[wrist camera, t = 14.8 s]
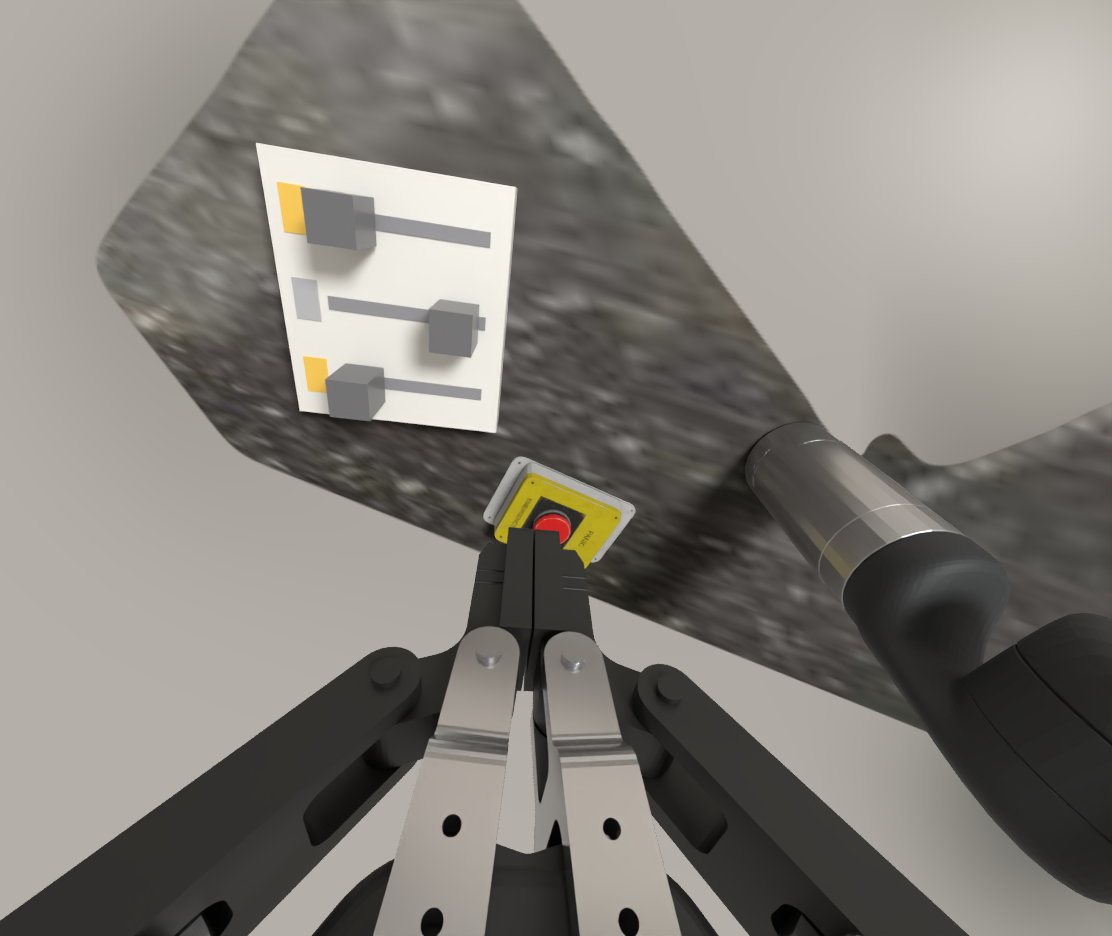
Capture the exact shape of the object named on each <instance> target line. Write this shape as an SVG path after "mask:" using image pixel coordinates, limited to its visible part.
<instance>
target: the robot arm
mask: <svg viewBox="0 0 1112 936" xmlns="http://www.w3.org/2000/svg"><path fill="white" fill-rule="evenodd" d="M745 477H746V481H747V483H748V485H749V487H750V488H751V489H752V491H753V492H754V493H755V495H756V496H757V497H758V498H759V500H760V501H761V502H762V504H763V505H764V506H765V508H766V509H767V510H768V512H769V513H770V514H771V516H772V517H773V518H774V519H775V521H776V522H777V523H778V525H779V526H780V527H781V528H782V530H783V531H784V532H785V534H786V535H787V536H788V537H789V539H790V540H791V541H792V543H793V544H794V545H795V546H796V548H797V549H798V550H799V552H800V553H801V554H802V555H803V557H804V558H805V559H806V561H807V562H808V563H809V565H810V566H811V567H812V568H813V570H814V571H815V572H816V574H817V575H818V576H819V577H820V579H821V580H822V581H823V583H824V584H825V585H826V586H827V587H828V589H829V590H830V591H831V593H832V594H833V595H834V597H835V598H836V599H837V600H838V602H839V603H840V604H841V606H842V607H843V608H844V609H845V611H846V612H847V614H848V615H849V616H850V617H851V619H852V620H853V621H854V623H855V624H856V625H857V627H858V630H859V632H860V634H861V636H862V638H863V640H864V641H865V643H866V645H867V646H868V648H869V649H870V650H871V652H872V653H873V655H874V656H875V657H876V659H877V660H878V661H879V663H880V664H881V665H882V667H883V668H884V670H885V671H886V672H887V674H888V675H889V677H890V678H891V679H892V681H893V682H894V684H895V685H896V687H897V688H898V689H899V691H900V692H901V694H902V695H903V697H904V698H905V700H906V701H907V703H908V704H909V706H910V707H911V709H912V710H913V712H914V713H915V714H916V716H917V717H918V719H919V720H920V722H921V723H922V725H923V726H924V728H925V729H926V731H927V732H928V734H929V735H930V737H931V738H932V739H933V741H934V743H935V744H936V746H937V747H938V748H939V750H940V751H941V753H942V754H943V756H944V757H945V758H946V760H947V761H948V762H949V764H950V765H951V767H952V768H953V770H954V771H955V772H956V774H957V775H958V777H959V778H960V779H961V781H962V782H963V783H964V785H965V786H966V787H967V788H968V790H969V791H970V792H971V793H972V795H973V796H974V797H975V798H976V800H977V801H978V802H979V803H980V805H982V807H983V808H984V810H985V811H986V812H987V813H988V815H989V816H990V817H991V818H992V819H993V820H994V822H995V823H996V824H997V825H998V826H999V827H1000V828H1001V829H1002V830H1003V831H1004V832H1005V833H1006V834H1007V835H1008V836H1009V837H1010V838H1011V839H1012V840H1013V841H1014V842H1015V843H1016V844H1017V845H1018V846H1019V848H1020V849H1021V850H1022V851H1023V852H1024V853H1026V854H1027V855H1028V856H1029V857H1030V858H1031V859H1032V860H1034V861H1035V862H1036V863H1037V864H1038V865H1039V866H1041V867H1042V868H1043V869H1044V870H1045V871H1047V872H1048V873H1049V874H1050V875H1052V876H1053V877H1054V878H1055V879H1057V880H1058V881H1060V882H1061V883H1062V884H1064V885H1066V886H1067V887H1069V888H1070V889H1072V890H1074V891H1075V892H1077V893H1079V894H1081V895H1082V896H1084V897H1087V898H1089V899H1092V900H1095V901H1097V902H1100V903H1106V904H1111V905H1112V619H1109V618H1106V617H1103V616H1099V615H1095V614H1087V613H1080V614H1071V615H1067V616H1065V617H1062V618H1060V619H1057V620H1055V621H1053V622H1051V623H1049V624H1047V625H1045V626H1043V627H1042V628H1040V629H1038V630H1037V631H1035V632H1033V633H1031V634H1030V635H1028V636H1026V637H1025V638H1023V639H1021V640H1020V641H1018V642H1017V644H1014V645H1012V646H1011V647H1009V648H1008V649H1006V650H1005V651H1003V652H1001V653H1000V654H998V655H997V656H995V657H994V658H992V659H990V660H989V661H987V662H986V663H984V664H983V660H984V653H985V649H986V645H987V642H988V639H989V637H990V635H991V633H992V631H993V629H994V627H995V625H996V623H997V622H998V620H999V618H1000V616H1001V615H1002V613H1003V611H1004V609H1005V607H1006V605H1007V602H1008V599H1009V594H1010V581H1009V578H1008V575H1007V573H1006V571H1005V569H1004V568H1003V567H1002V565H1001V564H1000V563H999V562H998V561H997V560H996V559H995V558H994V557H993V556H992V555H991V554H989V553H988V552H987V551H985V550H984V549H983V548H981V547H980V546H979V545H977V544H976V543H975V542H973V541H972V540H971V539H969V538H968V537H967V536H965V535H964V534H963V533H961V532H960V531H959V530H957V529H956V528H955V527H953V526H952V525H951V524H949V523H948V522H947V521H945V520H944V519H943V518H941V517H940V516H939V515H937V514H936V513H935V512H933V511H932V510H931V509H929V508H928V507H927V506H925V505H924V504H923V503H921V502H920V501H919V500H917V499H916V498H915V497H913V496H912V495H911V494H909V493H908V492H907V491H906V489H905V488H903V487H902V486H901V485H899V484H898V483H897V482H895V481H894V480H893V479H891V478H890V477H889V476H887V475H886V474H885V473H883V472H882V471H881V470H879V469H878V468H877V467H875V466H874V465H873V464H871V463H870V462H869V461H867V460H866V459H865V458H863V457H862V456H861V455H859V454H858V453H856V452H855V451H854V450H853V449H851V448H850V447H848V446H847V445H846V444H844V443H843V442H842V441H839V440H838V439H837V438H835V437H834V436H833V435H831V434H830V433H828V432H827V431H826V430H824V429H823V428H822V427H820V426H818V425H815V424H812V423H805V422H801V423H792V424H788V425H784V426H782V427H779V428H777V429H775V430H773V431H772V432H770V433H768V434H767V435H765V436H764V437H763V438H762V439H761V440H760V441H759V442H758V443H757V444H756V445H755V446H754V448H753V449H752V450H751V452H750V454H749V456H748V458H747V461H746V465H745ZM523 676H524V691H533V711H532V716H531V723H530V724H531V725H530V727H531V743H532V759H533V776H534V777H533V778H534V794H535V829H534V853H532V854H524V853H520V852H518V851H515V850H512V849H509V848H507V847H504V846H501V845H498V844H496V840H497V832H498V825H499V816H500V809H501V801H502V793H503V784H504V777H505V769H506V761H507V753H508V741H509V733H510V725H511V719H512V716H513V711H514V705H515V699H516V692H517V691H521V688H522V682H523ZM420 759H423V761H422V764H421V768H420V771H419V775H418V778H417V782H416V785H415V789H414V793H413V796H412V800H411V803H410V807H409V810H408V814H407V817H406V821H405V825H404V828H403V831H402V835H401V839H400V842H399V846H398V849H397V853H396V856H395V859H393V860H391V861H389V862H387V863H386V864H384V865H382V866H381V867H379V868H378V869H376V870H374V871H373V872H372V873H371V874H369V875H368V876H367V877H366V878H365V879H363V880H362V881H361V882H359V883H358V884H357V885H356V886H355V887H354V888H353V889H352V890H351V891H350V892H349V893H348V894H347V895H346V896H345V897H344V898H343V899H342V900H341V902H340V903H339V904H338V905H337V906H336V907H335V908H334V910H333V911H332V912H331V913H330V914H329V916H328V917H327V918H326V919H325V920H324V922H323V923H322V924H321V925H320V926H319V928H318V929H317V930H316V931H315V932H314V933H313V935H312V936H718V934H717V933H716V932H715V930H714V929H713V928H712V926H711V925H710V923H709V922H708V921H707V919H706V918H705V917H704V915H703V914H702V912H701V911H700V910H699V908H698V907H697V906H696V904H695V903H694V902H693V901H692V899H691V898H690V897H689V896H688V895H687V893H686V892H685V891H684V890H683V889H682V888H681V887H680V886H679V885H678V884H677V883H676V882H675V881H674V880H673V879H672V878H671V877H670V876H669V875H667V874H666V872H665V868H664V864H663V860H662V856H661V852H660V848H659V844H658V840H657V836H656V832H655V828H654V824H653V820H652V816H653V817H654V818H655V819H656V821H657V822H658V823H659V824H660V826H661V827H662V828H663V829H664V831H665V832H666V833H667V834H668V835H669V837H670V838H671V839H672V840H673V842H674V843H675V844H676V845H677V847H678V848H679V849H680V850H681V852H682V853H683V854H684V855H685V857H686V858H687V859H688V860H689V861H690V863H691V864H692V865H693V866H694V868H695V869H696V870H697V871H698V873H699V874H700V875H701V876H702V878H703V879H704V880H705V881H706V882H707V884H708V885H709V886H710V887H711V889H712V890H713V891H714V892H715V893H716V895H717V896H718V897H719V898H720V900H721V901H722V902H723V903H724V905H725V906H726V907H727V908H728V910H729V911H730V912H731V913H732V915H733V916H734V917H735V918H736V919H737V921H738V922H739V923H740V924H741V925H742V927H743V928H744V929H745V931H746V932H747V933H748V934H749V935H750V936H969V935H968V934H967V933H966V932H965V931H963V930H962V929H961V928H960V927H959V926H958V925H957V924H956V923H955V922H954V921H952V919H950V918H949V917H948V916H947V915H946V914H945V913H944V912H943V911H942V910H941V909H940V908H938V907H937V906H936V905H935V904H934V903H933V902H932V901H931V900H930V899H929V898H927V896H925V895H924V894H923V893H922V892H921V891H920V890H919V889H918V888H917V887H916V886H914V885H913V884H912V883H911V882H910V881H909V880H908V879H907V878H906V877H905V876H904V875H903V874H901V873H900V872H899V871H898V870H897V869H896V868H895V867H894V866H893V865H892V864H891V863H889V862H888V861H887V860H886V859H885V858H884V857H883V856H882V855H881V854H880V853H879V852H878V851H876V850H875V849H874V848H873V847H872V846H871V845H870V844H869V843H868V842H867V841H866V840H864V839H863V838H862V837H861V836H860V835H859V834H858V833H857V832H856V831H855V830H853V828H851V827H850V826H849V825H848V824H847V823H846V822H845V821H844V820H843V819H842V818H841V817H840V816H838V815H837V814H836V813H835V812H834V811H833V810H832V809H831V808H830V807H828V806H827V805H826V804H825V803H824V802H823V801H822V800H821V799H820V798H819V797H818V796H817V795H816V794H815V793H813V792H812V791H811V790H810V789H809V788H808V787H807V786H806V785H805V784H804V783H803V782H801V781H800V780H799V779H798V778H797V777H796V776H795V775H794V774H793V773H792V772H790V770H788V769H787V768H786V767H785V766H784V765H783V764H782V763H781V762H780V761H779V760H778V759H776V758H775V757H774V756H773V755H772V754H771V753H770V752H769V751H768V750H767V749H766V748H765V747H763V746H762V745H761V744H760V743H759V742H758V741H757V740H756V739H755V738H754V737H752V736H751V735H750V734H749V733H748V732H747V731H746V730H745V729H744V728H743V727H742V726H740V725H739V724H738V723H737V722H736V721H735V720H734V719H733V718H732V717H731V716H730V715H729V714H728V713H726V712H725V711H724V710H723V709H722V708H721V707H720V706H719V705H718V704H717V703H716V702H714V701H713V700H712V699H711V698H710V697H709V696H708V695H707V694H706V693H705V692H704V691H703V690H701V689H700V688H699V687H698V686H697V685H696V684H695V683H694V682H693V681H692V680H690V679H689V678H688V677H687V676H686V675H685V674H684V673H682V672H681V671H679V670H678V669H676V668H674V667H671V666H668V665H664V664H655V665H651V666H648V667H647V668H645V669H644V670H643V671H642V672H638V671H635V670H632V669H630V668H627V667H624V666H622V665H619V664H617V663H615V662H613V661H612V660H610V659H609V658H608V657H606V656H605V655H604V654H603V653H602V652H601V650H600V649H599V647H598V646H597V644H596V642H595V639H594V635H593V629H592V621H591V613H590V606H589V598H588V592H587V583H586V575H585V568H584V562H583V561H582V559H581V558H580V556H579V555H578V553H577V552H576V550H568V549H561V548H560V534H559V531H551V530H539V529H535V530H534V535H533V529H527V528H516V527H509V528H508V537H507V544H497V543H488V544H487V546H486V547H485V548H484V549H483V551H482V552H481V553H480V554H479V560H478V566H477V572H476V578H475V584H474V589H473V595H472V600H471V607H470V612H469V618H468V624H467V628H466V631H465V634H464V636H463V637H462V638H461V640H460V641H459V642H458V643H457V644H456V645H455V646H453V647H452V648H450V649H449V650H447V651H445V652H443V653H439V654H436V655H432V656H428V657H424V658H419V659H418V658H417V657H416V656H415V655H414V654H413V653H412V652H411V651H409V650H406V649H404V648H399V647H387V648H382V649H379V650H376V651H374V652H372V653H370V654H369V655H367V656H366V657H364V658H363V659H361V660H360V661H359V662H357V663H356V664H355V665H353V666H352V667H350V668H349V669H348V670H346V671H345V672H344V673H342V674H341V675H339V676H338V677H336V678H335V679H334V680H333V681H331V682H330V683H328V684H327V685H325V686H324V687H323V688H321V689H320V690H319V691H317V692H316V693H314V694H313V695H312V696H310V697H309V698H307V699H306V700H305V701H303V702H302V703H301V704H299V705H298V706H296V707H295V708H294V709H292V710H291V711H289V712H288V713H287V714H285V715H284V716H283V717H281V718H280V719H279V720H277V721H276V722H274V723H273V724H271V725H270V726H269V727H267V728H266V729H265V730H263V731H262V732H260V733H259V734H258V735H256V736H255V737H254V738H252V739H251V740H249V741H248V742H247V743H246V744H244V745H242V746H241V747H240V748H238V749H237V750H236V751H234V752H233V753H231V754H230V755H229V756H227V757H226V758H224V759H223V760H222V761H220V762H219V763H218V764H216V765H215V766H213V767H212V768H211V769H210V770H208V771H207V772H205V773H204V774H202V775H201V776H200V777H198V778H197V779H195V780H194V781H193V782H191V783H190V784H189V785H187V786H186V787H184V788H183V789H182V790H180V791H179V792H178V793H176V794H175V795H173V796H172V797H171V798H169V799H168V800H166V801H165V802H164V803H162V804H161V805H160V806H158V807H157V808H155V809H154V810H153V811H151V812H150V813H148V814H147V815H146V816H144V817H143V818H142V819H140V820H139V821H137V822H136V823H135V824H133V825H132V826H130V827H129V828H128V829H127V830H125V831H124V832H122V833H121V834H119V835H118V836H117V837H115V838H114V839H113V840H111V841H110V842H108V843H107V844H106V845H104V846H103V847H101V848H100V849H99V850H97V851H96V852H95V853H93V854H92V855H91V856H89V857H88V858H87V859H85V860H84V861H82V862H81V863H79V864H78V865H77V866H75V867H74V868H72V869H71V870H70V871H68V872H67V873H66V874H64V875H63V876H61V877H60V878H59V879H57V880H56V881H54V882H53V883H52V884H50V885H49V886H48V887H46V888H45V889H44V890H42V891H41V892H39V893H38V894H37V895H35V896H34V897H32V898H31V899H30V900H28V901H27V902H25V903H24V904H23V905H21V906H20V907H19V908H17V909H16V910H14V911H13V912H12V913H10V914H9V915H8V916H6V917H5V918H3V919H2V920H1V921H0V936H248V934H249V933H251V932H252V931H253V930H254V928H255V927H256V926H257V925H258V924H259V923H260V922H261V921H262V920H263V919H264V918H265V917H266V916H267V915H268V914H269V913H270V912H271V911H272V910H273V909H274V908H275V907H276V906H277V905H278V904H279V903H280V902H281V901H282V900H283V899H284V898H285V897H286V896H287V895H288V894H289V893H290V892H291V891H292V889H294V887H296V886H297V884H298V883H300V881H301V880H302V879H303V878H304V877H305V876H306V875H307V874H308V873H309V872H310V871H311V870H312V869H313V868H314V867H315V866H316V865H317V864H318V863H319V862H320V861H321V860H322V859H323V858H324V857H325V856H326V855H327V854H328V853H329V852H330V851H331V850H332V849H333V848H334V847H335V846H336V845H337V844H338V843H339V842H340V841H341V839H342V838H344V837H345V836H346V834H347V833H348V832H349V831H350V830H351V829H352V828H353V827H354V826H355V825H356V824H357V823H358V822H359V821H360V820H361V819H362V818H363V817H364V816H365V815H366V814H367V813H368V812H369V811H370V810H371V809H372V808H373V807H374V806H375V805H376V804H377V802H379V801H380V800H381V799H382V798H383V797H384V796H385V795H386V794H387V792H389V791H390V789H392V787H393V786H394V785H395V784H396V783H397V782H398V781H399V780H400V779H401V778H402V777H403V776H404V775H405V774H406V773H407V772H408V771H409V770H410V769H411V768H412V767H413V766H414V765H415V763H416V762H417V760H420ZM651 815H652V816H651Z"/></svg>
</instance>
